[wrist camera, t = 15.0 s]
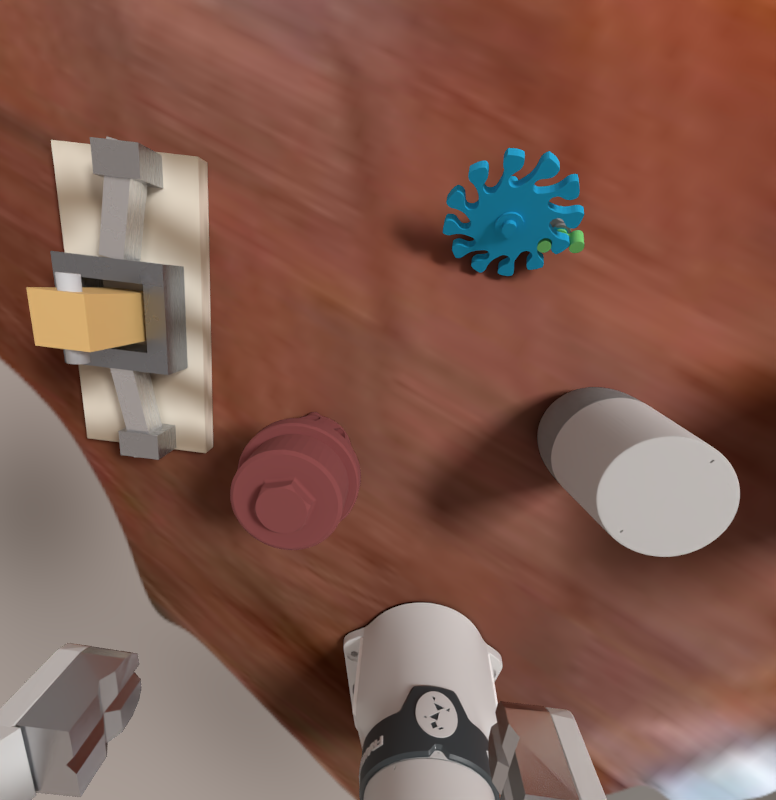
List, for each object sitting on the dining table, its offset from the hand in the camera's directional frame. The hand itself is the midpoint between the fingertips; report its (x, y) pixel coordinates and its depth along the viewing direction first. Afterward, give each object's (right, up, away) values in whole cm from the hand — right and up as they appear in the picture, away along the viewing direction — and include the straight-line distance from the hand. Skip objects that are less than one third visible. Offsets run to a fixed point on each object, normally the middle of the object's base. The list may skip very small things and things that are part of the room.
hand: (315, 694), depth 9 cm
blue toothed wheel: (+11, +21, +24) cm, 34 cm away
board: (-21, +15, +27) cm, 37 cm away
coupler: (-21, +14, +26) cm, 36 cm away
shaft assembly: (-21, +14, +26) cm, 36 cm away
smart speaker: (+20, +4, +28) cm, 35 cm away
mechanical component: (-5, +2, +30) cm, 31 cm away
